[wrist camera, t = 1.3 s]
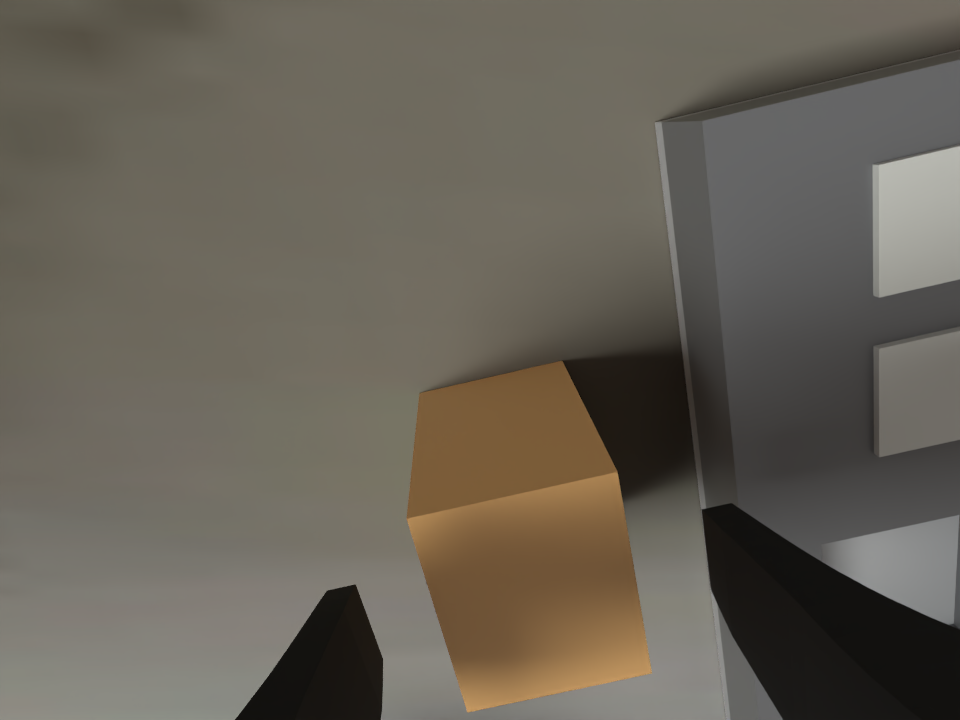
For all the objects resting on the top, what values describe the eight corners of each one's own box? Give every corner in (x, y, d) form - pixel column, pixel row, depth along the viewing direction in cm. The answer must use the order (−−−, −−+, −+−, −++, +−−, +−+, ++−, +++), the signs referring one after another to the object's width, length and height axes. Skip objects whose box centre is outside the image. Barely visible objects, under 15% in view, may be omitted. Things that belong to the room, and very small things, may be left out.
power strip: (726, 718, 22) (769, 811, 19) (654, 122, 15) (706, 120, 12) (997, 661, 22) (1085, 747, 19) (1051, 27, 15) (1203, 2, 12)
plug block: (461, 540, 19) (467, 712, 13) (419, 392, 17) (406, 519, 12) (591, 512, 19) (651, 673, 13) (562, 360, 17) (617, 471, 12)
